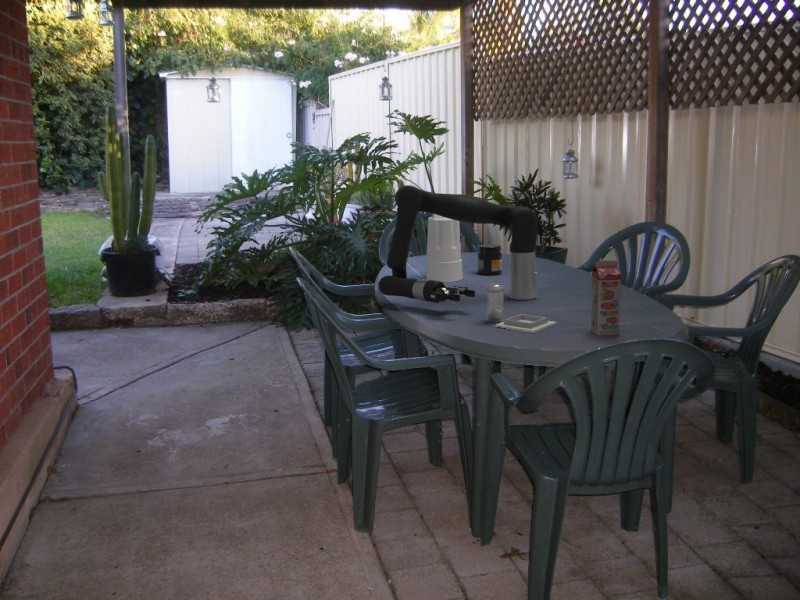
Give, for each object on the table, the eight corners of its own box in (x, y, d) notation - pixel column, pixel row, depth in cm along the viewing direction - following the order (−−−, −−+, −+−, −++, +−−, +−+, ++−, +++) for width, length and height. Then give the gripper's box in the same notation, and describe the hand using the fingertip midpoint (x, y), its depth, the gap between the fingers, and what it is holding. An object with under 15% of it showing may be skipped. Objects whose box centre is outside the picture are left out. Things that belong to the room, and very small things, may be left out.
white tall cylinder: (442, 274, 356) (441, 195, 349) (470, 277, 346) (470, 197, 339) (419, 279, 345) (417, 199, 338) (447, 283, 335) (446, 200, 328)
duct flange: (518, 318, 272) (518, 311, 272) (556, 324, 263) (556, 317, 263) (495, 327, 262) (495, 320, 261) (533, 333, 253) (533, 326, 252)
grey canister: (499, 318, 273) (499, 282, 271) (506, 321, 268) (506, 285, 266) (484, 319, 272) (484, 284, 269) (491, 323, 267) (491, 287, 264)
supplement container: (507, 273, 353) (507, 246, 350) (486, 276, 348) (486, 248, 345) (492, 270, 362) (492, 243, 359) (472, 273, 356) (472, 245, 354)
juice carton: (590, 330, 255) (592, 259, 250) (611, 329, 255) (614, 258, 251) (597, 335, 249) (599, 263, 244) (618, 334, 249) (621, 262, 244)
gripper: (415, 283, 279) (454, 288, 269) (441, 276, 290) (479, 281, 280) (415, 305, 281) (454, 310, 271) (441, 297, 292) (479, 303, 281)
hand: (467, 296), depth 275 cm, fingers open, 8 cm apart
